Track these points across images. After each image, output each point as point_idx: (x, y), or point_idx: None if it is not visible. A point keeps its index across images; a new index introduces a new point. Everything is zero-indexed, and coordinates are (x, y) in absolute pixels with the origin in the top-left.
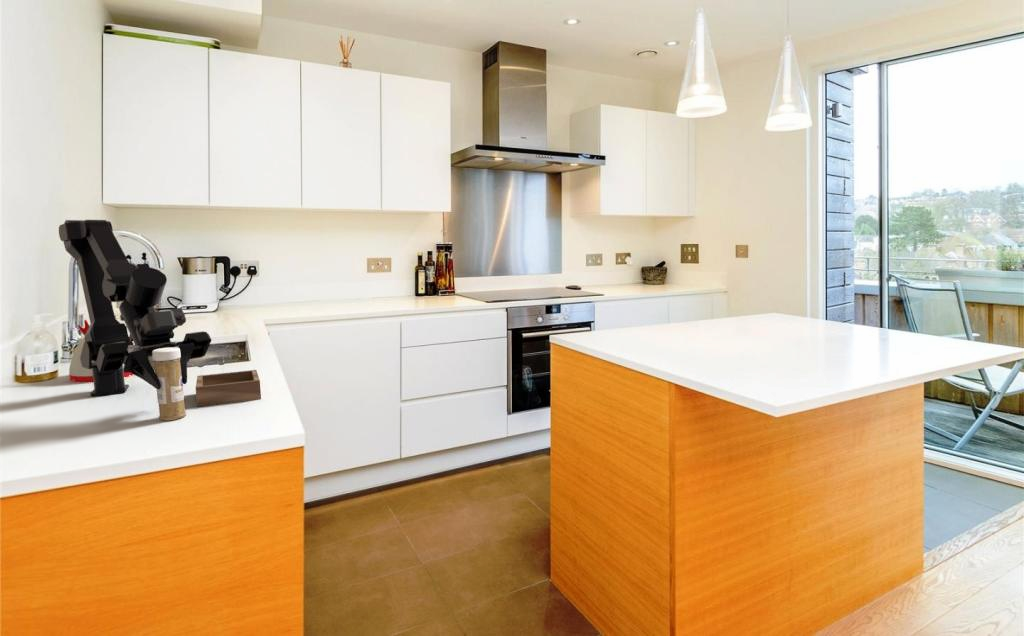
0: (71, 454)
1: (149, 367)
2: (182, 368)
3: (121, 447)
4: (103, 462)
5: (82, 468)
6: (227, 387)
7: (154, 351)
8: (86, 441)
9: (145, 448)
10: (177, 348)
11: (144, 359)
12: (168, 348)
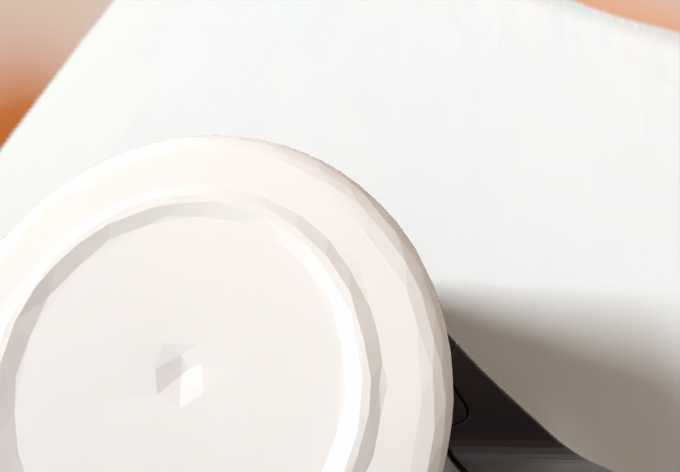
0: (663, 172)
1: None
2: None
3: (540, 122)
4: (599, 41)
5: (646, 37)
6: None
7: (441, 333)
8: (614, 273)
9: (492, 64)
10: (19, 243)
11: (520, 465)
12: (105, 425)
